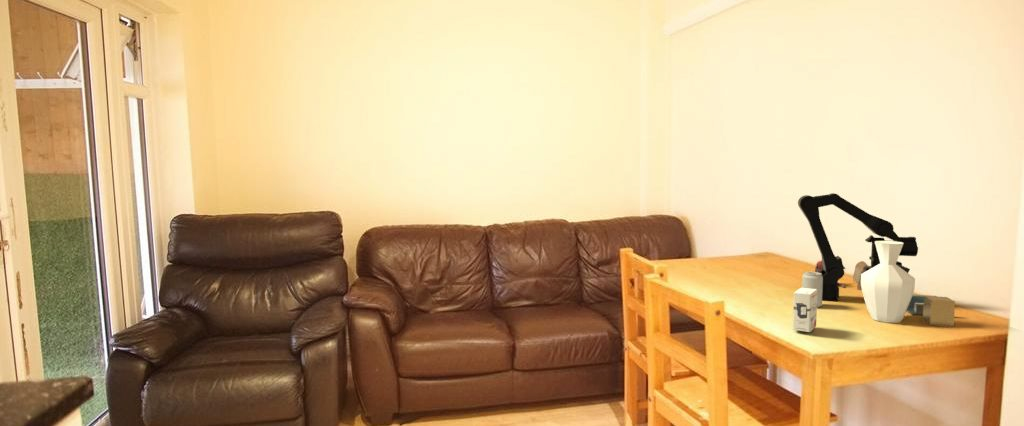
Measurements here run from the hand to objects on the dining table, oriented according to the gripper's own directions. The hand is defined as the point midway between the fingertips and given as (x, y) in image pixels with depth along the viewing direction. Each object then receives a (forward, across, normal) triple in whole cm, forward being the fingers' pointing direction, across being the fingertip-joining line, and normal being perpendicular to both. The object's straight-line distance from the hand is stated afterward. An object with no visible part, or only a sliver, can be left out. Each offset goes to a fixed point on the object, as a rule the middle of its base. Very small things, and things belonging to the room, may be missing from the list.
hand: (878, 297), depth 197 cm
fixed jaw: (+2, -14, -11) cm, 18 cm away
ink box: (+2, -41, +31) cm, 51 cm away
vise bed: (+2, -8, -11) cm, 13 cm away
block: (+2, -24, -9) cm, 26 cm away
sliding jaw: (+2, -4, -12) cm, 12 cm away
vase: (+2, -23, +4) cm, 24 cm away
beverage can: (+2, -11, +24) cm, 26 cm away
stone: (+2, +27, -1) cm, 27 cm away
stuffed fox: (+2, +23, +10) cm, 26 cm away
